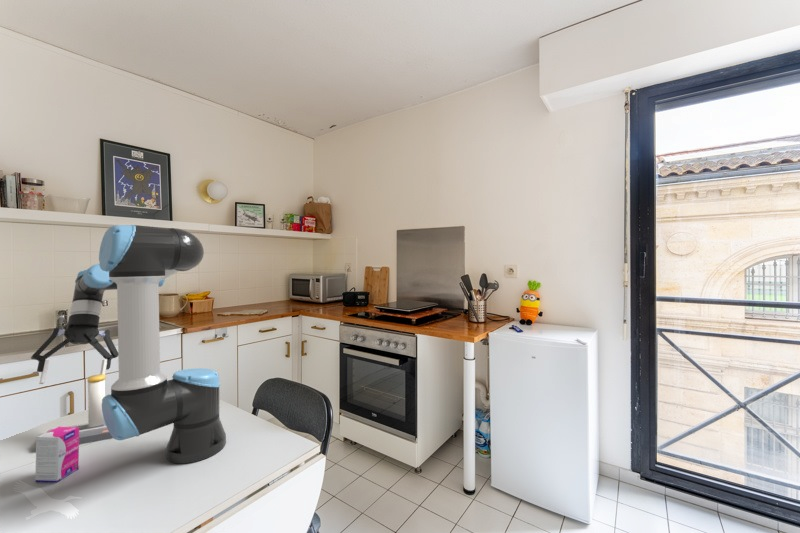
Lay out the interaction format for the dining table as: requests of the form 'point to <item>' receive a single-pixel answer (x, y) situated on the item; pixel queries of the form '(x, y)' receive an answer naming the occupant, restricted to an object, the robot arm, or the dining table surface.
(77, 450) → the supplement box
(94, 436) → the switch panel
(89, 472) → the dining table surface
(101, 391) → the switch handle
